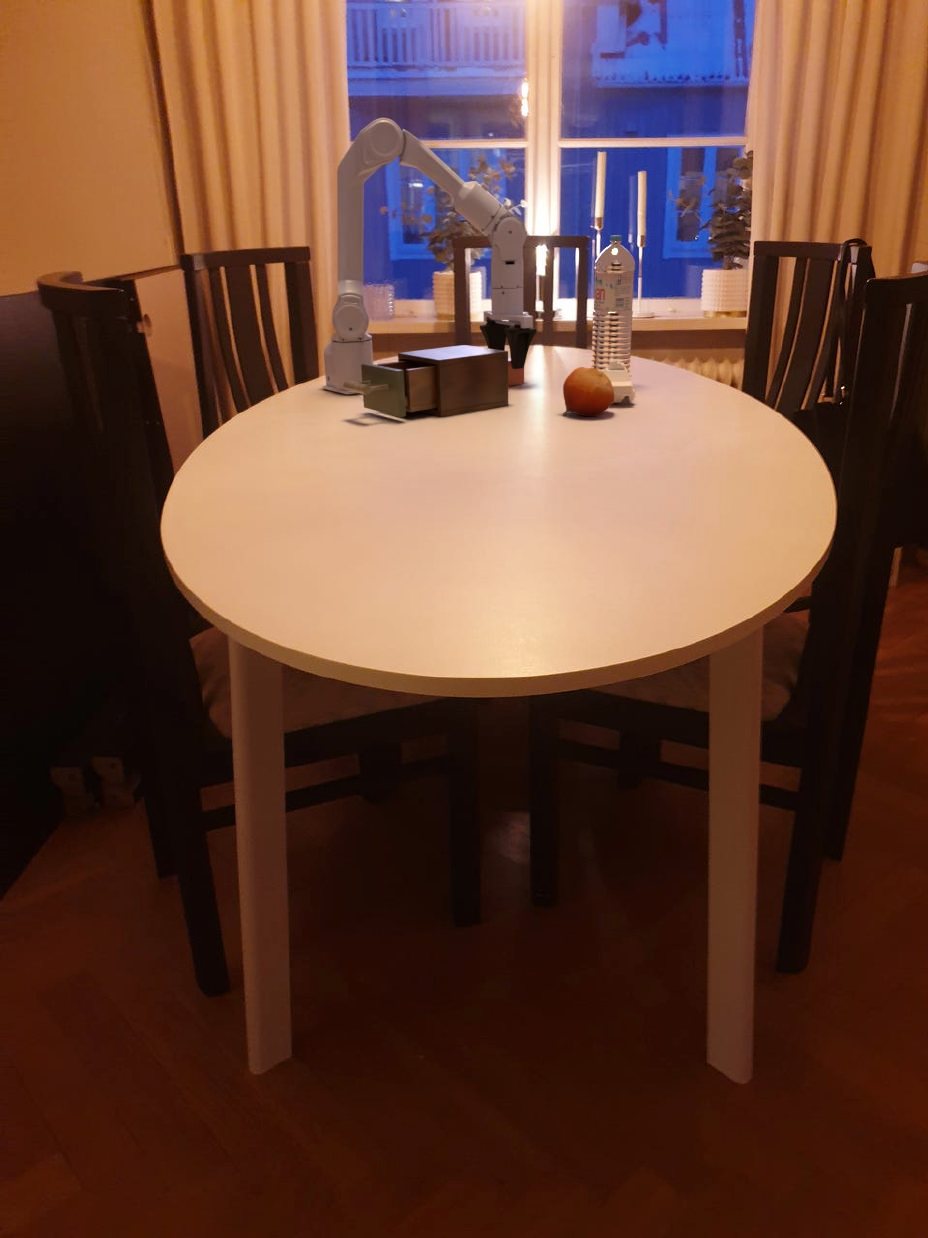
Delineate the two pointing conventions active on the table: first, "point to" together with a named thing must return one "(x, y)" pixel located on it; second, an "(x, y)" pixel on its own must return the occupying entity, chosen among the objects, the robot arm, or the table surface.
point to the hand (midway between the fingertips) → (507, 365)
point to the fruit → (587, 392)
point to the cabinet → (466, 377)
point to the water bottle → (613, 306)
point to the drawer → (397, 387)
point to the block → (515, 374)
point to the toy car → (620, 381)
